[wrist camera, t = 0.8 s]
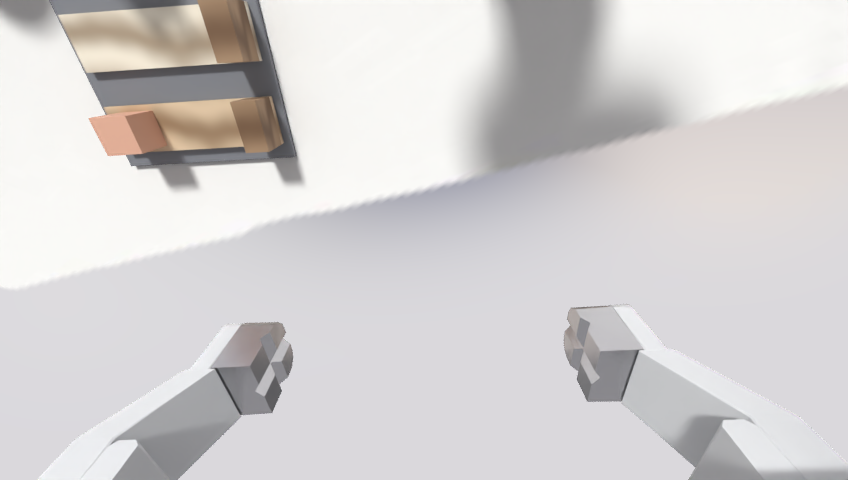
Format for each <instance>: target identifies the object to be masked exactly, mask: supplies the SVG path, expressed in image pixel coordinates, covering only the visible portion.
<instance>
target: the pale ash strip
mask: <svg viewBox="0 0 848 480" xmlns="http://www.w3.org/2000/svg"><path fill="white" fill-rule="evenodd" d="M197 1H198V4H196V5H182V6H169V7H156V8H143V9H129V10H116V11H103V12H90V13H77V14H63V15H58V17H59V19H60V21H61V23H62V25H63V27H64V29H65V31H66V33H67V35H68V37H69V39H70V41H71V43H72V45H73V47H74V49H75V51H76V53H77V55H78V57H79V59H80V61H81V63H82V65H83V67H84V69H85V71H86V73H95V72H110V71H125V70H139V69H154V68H169V67H183V66H198V65H213V64H227V63H242V62H257V61H262V57H261V53H260V49H259V45H258V42H257V38H256V34H255V30H254V26H253V22H252V19H251V15H250V11H249V7H248V3H247V2H246V1H243V0H197Z"/></svg>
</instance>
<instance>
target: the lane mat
mask: <svg viewBox="0 0 848 480" xmlns="http://www.w3.org/2000/svg"><path fill="white" fill-rule="evenodd" d="M49 1H50V3H51V5H52V7H53V9H54V11H55V13H56V15H57V17H58V15H63V14H77V13H90V12H103V11H116V10H129V9H143V8H156V7H169V6H182V5H196V4H198V1H197V0H49ZM243 1H246V2H247V3H248V7H249V11H250V15H251V19H252V22H253V26H254V30H255V34H256V38H257V42H258V45H259V49H260V53H261V57H262V61H257V62H242V63H227V64H213V65H198V66H183V67H169V68H154V69H139V70H125V71H110V72H95V73H86V71H85V69H84V67H83V65H82V63H81V61H80V59H79V57H78V55H77V53H76V51H75V49H74V47H73V45H72V43H71V41H70V39H69V37H68V35H67V33H66V31H65V29H64V27H63V25H62V23H61V21H60V19H59V17H58V19H59V21H60V23H61V25H62V27H63V29H64V31H65V33H66V35H67V37H68V39H69V41H70V43H71V45H72V47H73V49H74V51H75V54H76V56H77V58H78V60H79V62H80V64H81V66H82V68H83V70H84V72H85V74H86V76H87V78H88V80H89V82H90V84H91V86H92V88H93V90H94V92H95V94H96V96H97V98H98V100H99V102H100V104H101V106H102V108H103V110H104V112H105V109H104V107H109V106H125V105H140V104H156V103H172V102H187V101H203V100H219V99H234V98H250V97H266V96H272V99H273V103H274V107H275V111H276V115H277V118H278V122H279V126H280V130H281V134H282V138H283V142H284V143H283V144H282V145H280V146H278V147H277V148H275V149H273V150H272V151H270V152H258V153H246V152H245V148H244V147H229V148H211V149H194V150H177V151H160V152H147V153H144V154H132V155H126V156H127V158H128V160H129V162H130V164H131V166H142V165H159V164H177V163H195V162H213V161H230V160H248V159H266V158H283V157H295V156H296V152H295V148H294V144H293V140H292V136H291V132H290V128H289V124H288V120H287V116H286V112H285V108H284V104H283V100H282V96H281V92H280V88H279V84H278V79H277V75H276V71H275V67H274V63H273V59H272V55H271V51H270V47H269V43H268V39H267V35H266V31H265V27H264V23H263V19H262V15H261V11H260V7H259V2H258V0H243ZM105 114H106V112H105ZM106 115H107V114H106Z"/></svg>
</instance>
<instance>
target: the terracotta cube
mask: <svg viewBox="0 0 848 480" xmlns="http://www.w3.org/2000/svg"><path fill="white" fill-rule="evenodd" d="M89 120H90V122H91V124H92V126H93V128H94V130H95V132H96V134H97V136H98V138H99V139H100V141H101V143H102V145H103V147H104V149H105V151H106V153H107V155H108V156H115V155H132V154H144V153H147V152H150V151H153V150H156V149H158V148H161V147H164V146H167V143H166V141H165V139H164V136H163V134H162V132H161V129H160V127H159V125H158V122H157V120H156V118H155V115H154V113H153V111H137V112H121V113H115V114H109V115H104V116H98V117H93V118H89Z"/></svg>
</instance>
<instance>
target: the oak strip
mask: <svg viewBox="0 0 848 480" xmlns="http://www.w3.org/2000/svg"><path fill="white" fill-rule="evenodd" d="M104 109H105V112H106V114H107V115H109V114H115V113H121V112H137V111H153V113H154V115H155V118H156V120H157V122H158V125H159V127H160V129H161V132H162V134H163V136H164V139H165V141H166V143H167V146H164V147H161V148H158V149H156V150H153V151H150V152H160V151H177V150H194V149H211V148H229V147H244V148H245V152H246V153H258V152H270V151H272V150H273V149H275V148H277V147H278V146H280V145H282V144H283V143H284V142H283V138H282V134H281V130H280V126H279V122H278V118H277V115H276V111H275V107H274V103H273V99H272V96H266V97H250V98H234V99H219V100H203V101H187V102H172V103H156V104H140V105H125V106H109V107H104Z"/></svg>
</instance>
